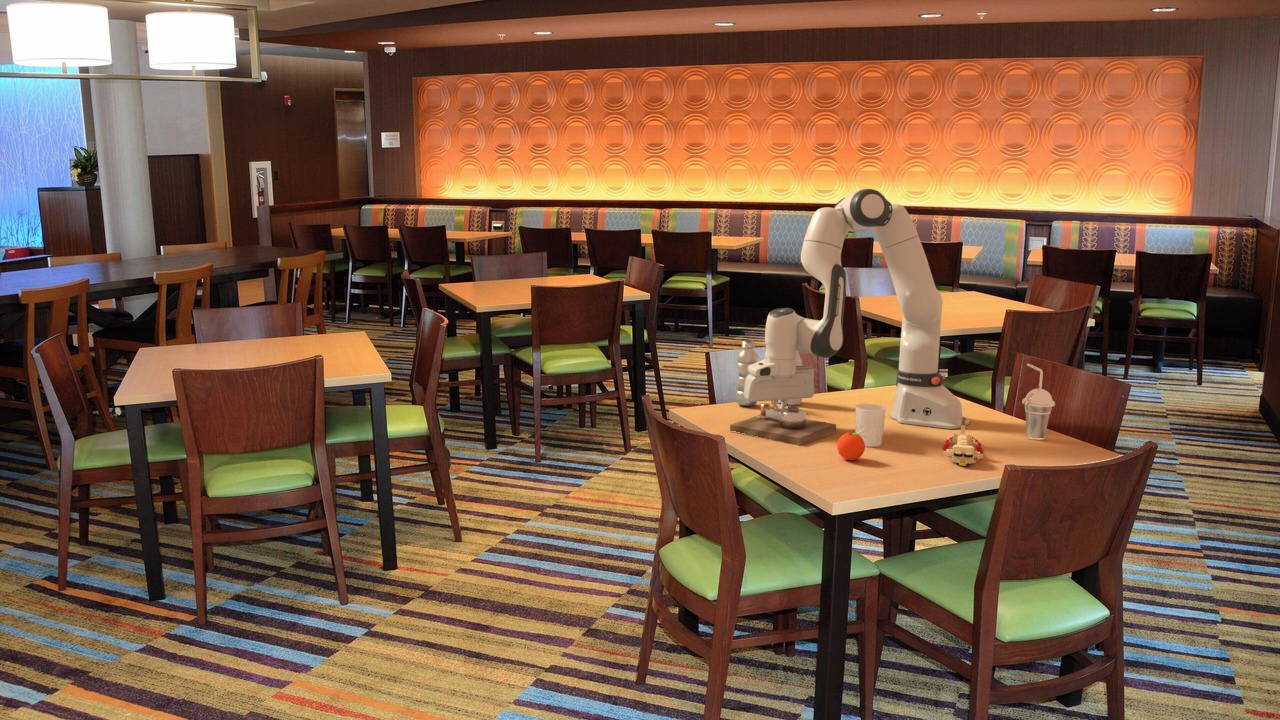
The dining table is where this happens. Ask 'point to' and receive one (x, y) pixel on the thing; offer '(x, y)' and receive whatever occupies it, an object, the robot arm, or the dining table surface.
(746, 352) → the plastic bottle
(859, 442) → the clementine
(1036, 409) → the cup with straw
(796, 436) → the walnut stand
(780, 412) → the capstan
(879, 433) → the white cup
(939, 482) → the dining table surface
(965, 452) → the blocky toy figure
